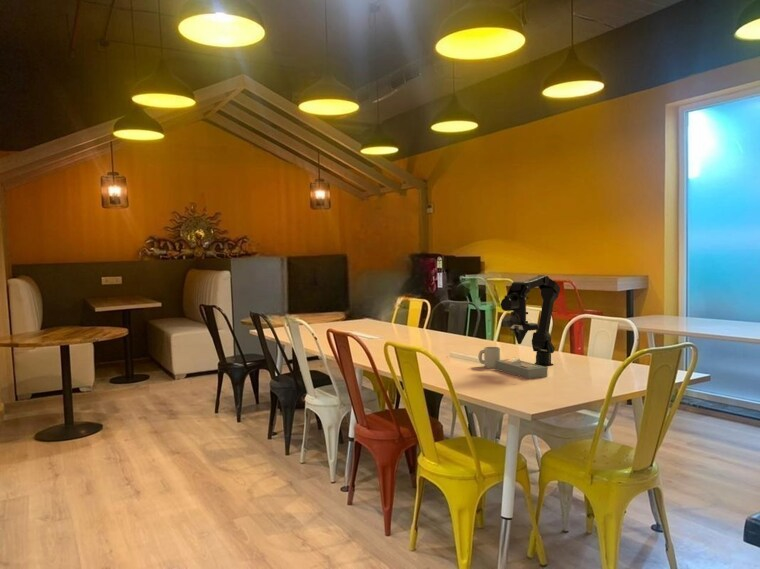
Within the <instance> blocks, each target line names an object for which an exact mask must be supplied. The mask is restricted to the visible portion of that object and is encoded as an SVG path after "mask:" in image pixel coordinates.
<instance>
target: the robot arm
mask: <svg viewBox="0 0 760 569" xmlns="http://www.w3.org/2000/svg"><path fill="white" fill-rule="evenodd" d="M534 288H535V289H536V288H538V289H539V291H540V295H541V296H540V297H541V299H542V305H541V310H540V311H541V312H540V317H539V321H538V322H539V323H534V322H529V321H528V320H527V315H529V312H528V311H527V300H529V298H530V297H529V296H527V295H528V294H529V293H531V290H533V289H534ZM560 292H561V287H560V285H559V284H558V282H557V281H555V280H553V279H552V278H550V277H549V276H548V275H543V274H541V275H539V274H538V275H537V276H535V277H531V278H529V279H527V280H524V281H521V280H519V281H513V282H512V283H511V284H510V287H509V289H508V291H507V294H506V295H504V298H503V299H502V300H501V302H500V308H501V310H502V311H504V312H510V311H511V312H510V315H508V316H506V317H505V318H502V319H501V327H505V328H509V330H511V331H512V332H513V333H514V336H515V339H516V343H517V344H518V345H522V343H523V341H524V338H525V337H526V335H527V333H528V332H530V331H535V332H533V333H532V337H531V338H532V339H531V346H532V349H533V350H532V351H533V352H536V353H535V354H536V355H535V362H534V363H533V364H536V365H540V366H544V367H547V366H553V365H554V363H553V362H552V354H554V352H555V350H556V347H555V346H554V345H553V342H552V336H551V334H550V326H551V320H552V317H553V316H552V314H553V311H554V310H553V309H554V302H556V300H557V299H558V298H559V294H560Z"/></svg>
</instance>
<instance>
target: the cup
mask: <svg viewBox="0 0 760 569" xmlns="http://www.w3.org/2000/svg"><path fill="white" fill-rule="evenodd" d="M483 348H484V349H481V350H480V351H479V353H478V361H479V363H480V364H481V365H484V367H485V368H487V369H496V361H497V360H501V347H497V346H485V347H483ZM483 354H484V359H483Z"/></svg>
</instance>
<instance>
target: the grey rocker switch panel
mask: <svg viewBox="0 0 760 569" xmlns="http://www.w3.org/2000/svg"><path fill="white" fill-rule="evenodd" d="M510 359H511V358H507V359H500V360H497V361H496V368H495V370H497V371H501V372H504V373H508V374H511V375H513V374H514V376H518V377H521V378H524V379H527V380H532V378H533V379H539V378H546V376H547V377H548V367H547V366H541V365H537V364H534V363H531V362H529V361H523V360H521V359H520V362H516V363H506V362H505V361H507V360H510ZM521 363H525V364H529V365H534V366H537V367H532V368H527V367H523V366H521Z"/></svg>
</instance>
